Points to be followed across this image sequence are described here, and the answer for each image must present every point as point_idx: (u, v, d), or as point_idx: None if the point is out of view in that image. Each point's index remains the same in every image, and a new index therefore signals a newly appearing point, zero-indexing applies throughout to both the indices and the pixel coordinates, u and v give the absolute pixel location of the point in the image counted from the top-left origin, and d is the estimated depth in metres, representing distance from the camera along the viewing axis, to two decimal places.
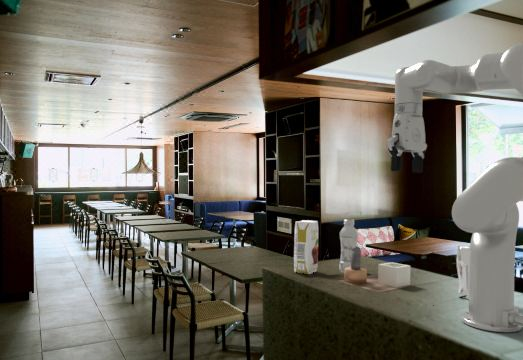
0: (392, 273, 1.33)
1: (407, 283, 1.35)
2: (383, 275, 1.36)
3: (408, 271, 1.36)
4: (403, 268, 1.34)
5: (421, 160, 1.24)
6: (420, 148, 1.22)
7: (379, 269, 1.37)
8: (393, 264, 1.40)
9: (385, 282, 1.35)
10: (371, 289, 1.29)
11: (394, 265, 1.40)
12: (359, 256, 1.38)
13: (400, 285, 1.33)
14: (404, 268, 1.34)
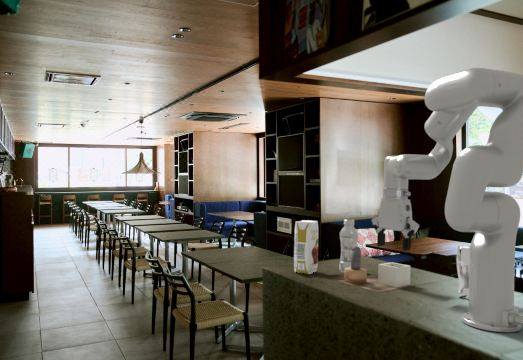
0: (392, 273, 1.33)
1: (407, 283, 1.35)
2: (383, 275, 1.36)
3: (408, 271, 1.36)
4: (403, 268, 1.34)
5: None
6: None
7: (379, 269, 1.37)
8: (393, 264, 1.40)
9: (385, 282, 1.35)
10: (371, 289, 1.29)
11: (394, 265, 1.40)
12: (359, 256, 1.38)
13: (400, 285, 1.33)
14: (404, 268, 1.34)
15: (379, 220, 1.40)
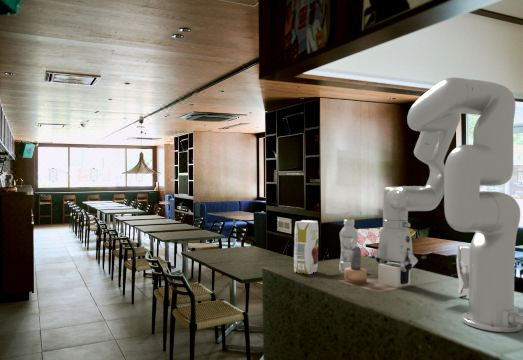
0: (392, 273, 1.33)
1: (407, 283, 1.35)
2: (383, 275, 1.36)
3: None
4: None
5: None
6: None
7: (379, 269, 1.37)
8: (393, 264, 1.40)
9: (385, 282, 1.35)
10: (371, 289, 1.29)
11: (394, 265, 1.40)
12: (359, 256, 1.38)
13: (400, 285, 1.33)
14: None
15: (379, 251, 1.39)
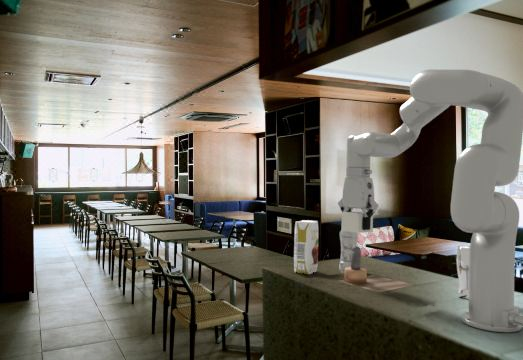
0: (354, 219, 1.35)
1: (369, 230, 1.37)
2: (346, 222, 1.38)
3: None
4: None
5: None
6: None
7: (342, 217, 1.39)
8: (357, 213, 1.42)
9: (347, 229, 1.37)
10: (371, 289, 1.29)
11: None
12: (359, 256, 1.38)
13: (362, 231, 1.35)
14: None
15: (343, 199, 1.41)
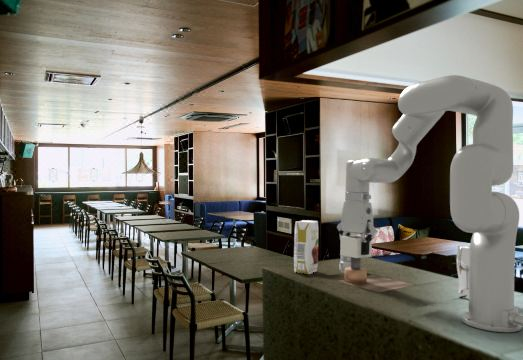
0: (353, 244, 1.35)
1: None
2: (345, 247, 1.38)
3: (369, 243, 1.38)
4: None
5: None
6: None
7: (341, 241, 1.39)
8: (356, 237, 1.42)
9: (346, 253, 1.37)
10: (371, 289, 1.29)
11: (357, 237, 1.42)
12: None
13: (361, 256, 1.35)
14: None
15: (342, 223, 1.41)
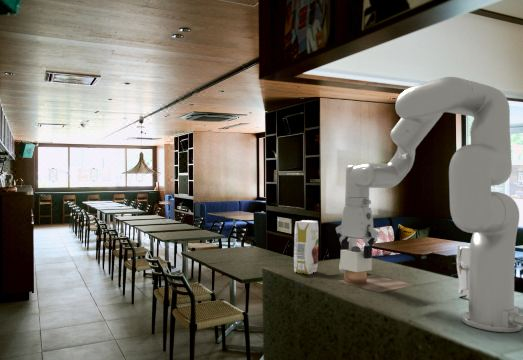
0: (353, 258, 1.35)
1: (368, 268, 1.37)
2: (345, 260, 1.38)
3: None
4: None
5: None
6: None
7: (341, 255, 1.39)
8: None
9: (346, 267, 1.37)
10: (371, 289, 1.29)
11: None
12: None
13: (361, 270, 1.35)
14: None
15: (342, 228, 1.41)
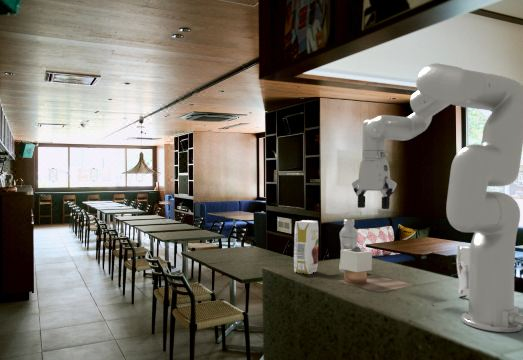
0: (353, 258, 1.35)
1: (368, 268, 1.37)
2: (345, 260, 1.38)
3: (369, 256, 1.37)
4: (364, 253, 1.36)
5: None
6: None
7: (341, 255, 1.39)
8: None
9: (346, 267, 1.37)
10: (371, 289, 1.29)
11: None
12: None
13: (361, 270, 1.35)
14: (365, 253, 1.36)
15: (359, 182, 1.45)
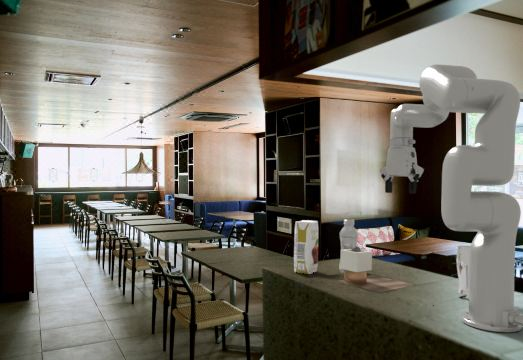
0: (353, 258, 1.35)
1: (368, 268, 1.37)
2: (345, 260, 1.38)
3: (369, 256, 1.37)
4: (364, 253, 1.36)
5: None
6: None
7: (341, 255, 1.39)
8: None
9: (346, 267, 1.37)
10: (371, 289, 1.29)
11: None
12: None
13: (361, 270, 1.35)
14: (365, 253, 1.36)
15: (386, 168, 1.52)
